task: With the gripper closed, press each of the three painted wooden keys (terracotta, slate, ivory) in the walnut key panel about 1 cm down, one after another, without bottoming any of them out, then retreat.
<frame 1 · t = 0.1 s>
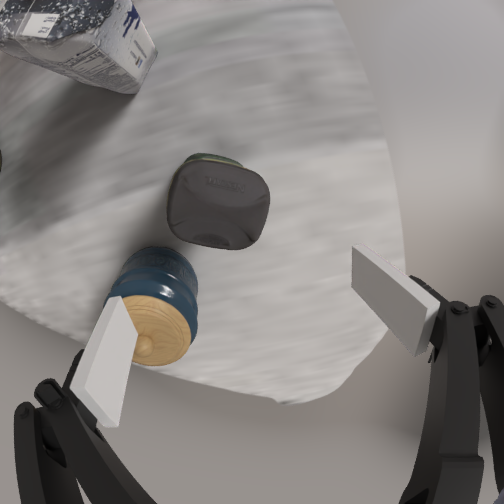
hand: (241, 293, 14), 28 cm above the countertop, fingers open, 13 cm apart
canister: (159, 280, 44), on the countertop
coffee jar: (212, 181, 39), on the countertop
juice carton: (124, 67, 30), on the countertop
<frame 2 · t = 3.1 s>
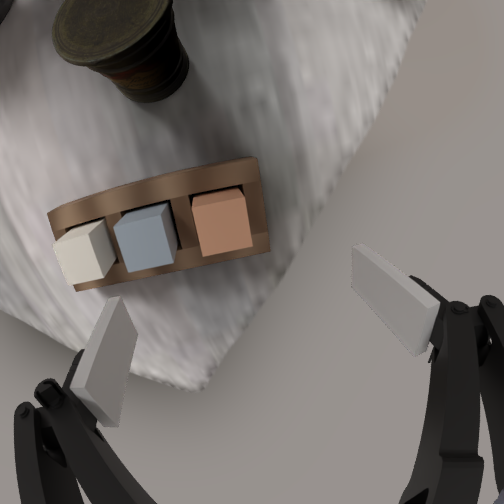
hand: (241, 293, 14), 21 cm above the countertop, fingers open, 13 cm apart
container: (152, 70, 26), on the countertop
terracotta key: (221, 219, 29), point 5 cm above the countertop, slide at 0.0 cm
slate key: (148, 235, 28), point 5 cm above the countertop, slide at 0.0 cm
key panel: (156, 220, 33), on the countertop
ivory key: (86, 250, 27), point 5 cm above the countertop, slide at 0.0 cm
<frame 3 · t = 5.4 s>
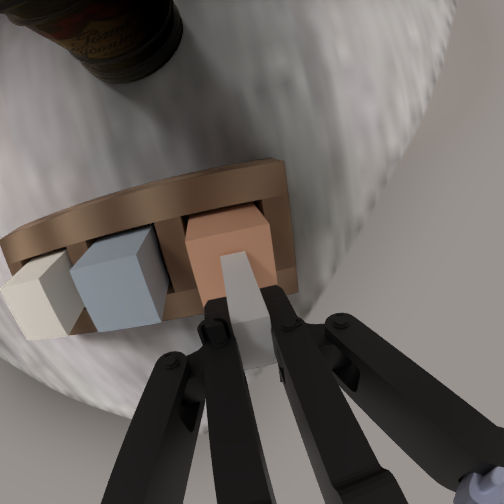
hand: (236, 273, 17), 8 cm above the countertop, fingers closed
container: (132, 40, 16), on the countertop
terracotta key: (230, 251, 19), point 5 cm above the countertop, slide at 0.3 cm, touching gripper
slate key: (124, 276, 18), point 5 cm above the countertop, slide at 0.0 cm
key panel: (139, 248, 23), on the countertop
ivory key: (46, 293, 18), point 5 cm above the countertop, slide at 0.0 cm
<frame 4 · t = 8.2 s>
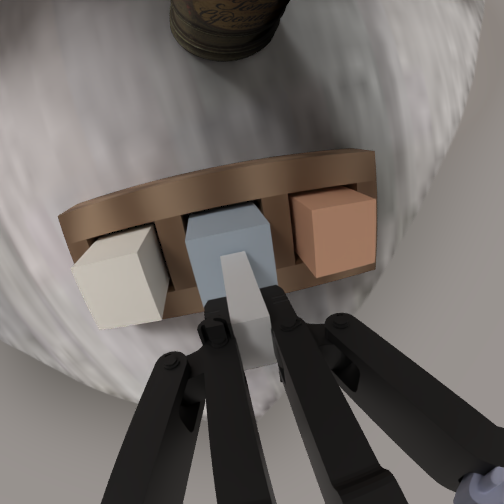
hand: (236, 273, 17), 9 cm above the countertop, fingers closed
container: (223, 22, 17), on the countertop
terracotta key: (329, 225, 21), point 4 cm above the countertop, slide at 1.0 cm
slate key: (230, 251, 19), point 5 cm above the countertop, slide at 0.1 cm, touching gripper
key panel: (224, 228, 24), on the countertop
ivory key: (125, 274, 19), point 5 cm above the countertop, slide at 0.0 cm
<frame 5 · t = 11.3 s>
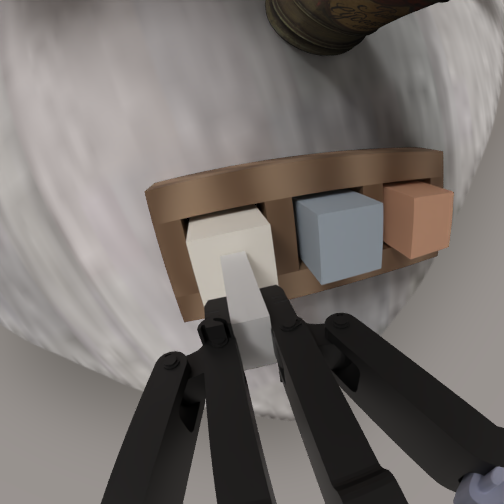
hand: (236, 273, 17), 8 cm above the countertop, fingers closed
container: (312, 17, 17), on the countertop
terracotta key: (411, 214, 21), point 4 cm above the countertop, slide at 1.0 cm
slate key: (334, 230, 20), point 4 cm above the countertop, slide at 1.0 cm
key panel: (313, 214, 24), on the countertop
ivory key: (231, 252, 19), point 5 cm above the countertop, slide at 1.0 cm, touching gripper
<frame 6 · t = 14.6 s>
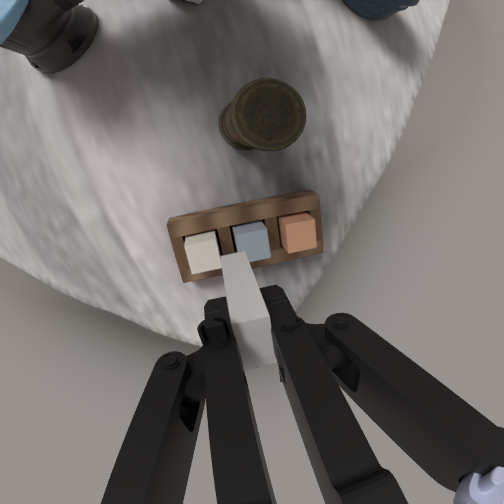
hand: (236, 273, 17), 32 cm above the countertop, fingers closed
container: (245, 124, 43), on the countertop
terracotta key: (295, 230, 47), point 4 cm above the countertop, slide at 1.0 cm
slate key: (250, 240, 46), point 4 cm above the countertop, slide at 1.0 cm
key panel: (246, 231, 50), on the countertop
ivory key: (203, 250, 45), point 4 cm above the countertop, slide at 1.0 cm
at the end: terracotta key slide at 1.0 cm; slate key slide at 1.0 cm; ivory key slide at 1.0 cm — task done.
